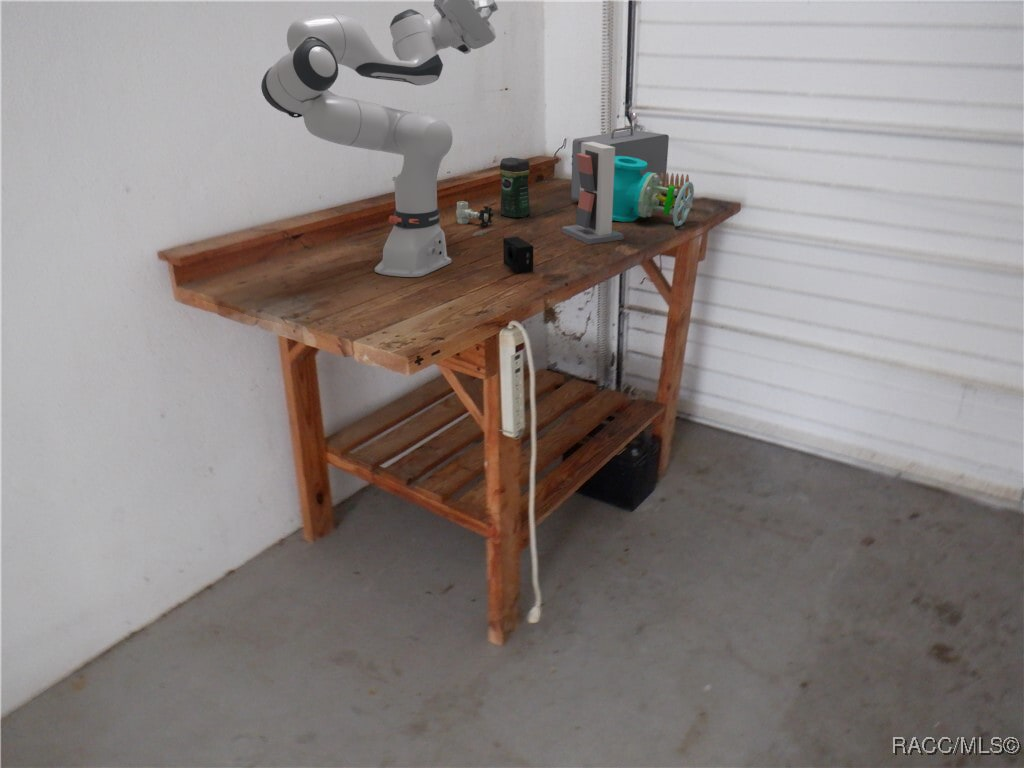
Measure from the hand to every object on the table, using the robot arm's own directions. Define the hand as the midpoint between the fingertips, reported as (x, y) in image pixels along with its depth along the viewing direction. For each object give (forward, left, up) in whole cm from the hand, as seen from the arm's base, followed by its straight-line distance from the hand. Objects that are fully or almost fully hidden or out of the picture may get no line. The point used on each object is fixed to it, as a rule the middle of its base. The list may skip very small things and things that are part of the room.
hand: (495, 3), depth 214 cm
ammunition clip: (+58, -42, -64) cm, 96 cm away
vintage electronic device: (+65, -21, -64) cm, 94 cm away
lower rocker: (+13, -22, -61) cm, 66 cm away
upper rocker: (+14, -23, -50) cm, 56 cm away
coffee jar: (+33, +6, -64) cm, 72 cm away
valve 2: (+38, -36, -64) cm, 83 cm away
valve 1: (+17, +15, -64) cm, 68 cm away
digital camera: (-22, -13, -64) cm, 69 cm away
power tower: (+15, -24, -64) cm, 70 cm away
